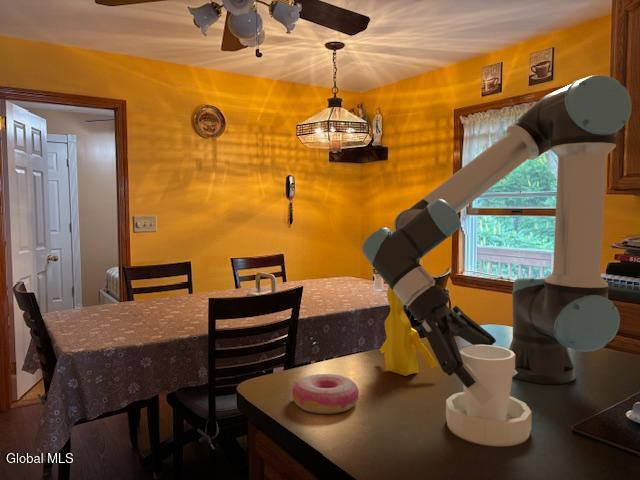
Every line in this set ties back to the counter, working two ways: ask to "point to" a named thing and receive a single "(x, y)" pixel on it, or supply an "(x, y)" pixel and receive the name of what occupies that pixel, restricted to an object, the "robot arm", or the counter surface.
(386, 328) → the figure statuette
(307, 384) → the donut
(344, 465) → the counter surface
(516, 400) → the dish
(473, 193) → the robot arm
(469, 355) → the foam cup
